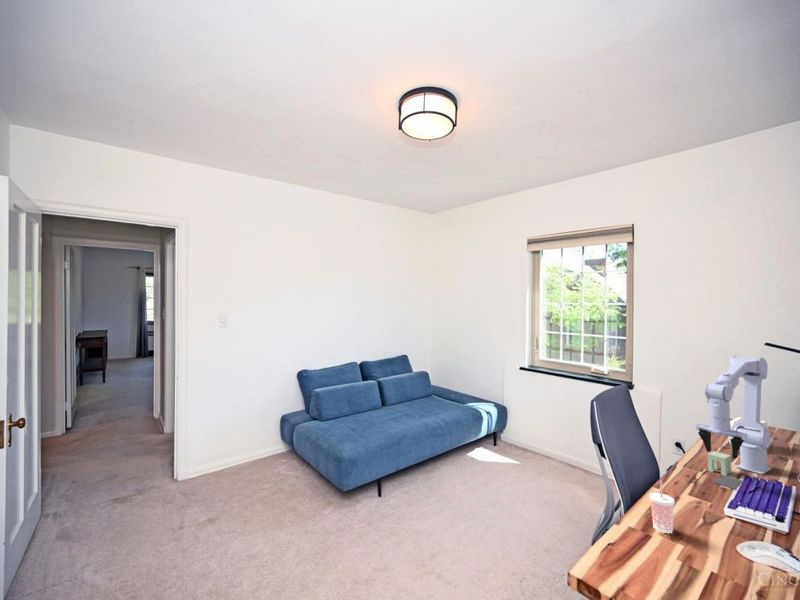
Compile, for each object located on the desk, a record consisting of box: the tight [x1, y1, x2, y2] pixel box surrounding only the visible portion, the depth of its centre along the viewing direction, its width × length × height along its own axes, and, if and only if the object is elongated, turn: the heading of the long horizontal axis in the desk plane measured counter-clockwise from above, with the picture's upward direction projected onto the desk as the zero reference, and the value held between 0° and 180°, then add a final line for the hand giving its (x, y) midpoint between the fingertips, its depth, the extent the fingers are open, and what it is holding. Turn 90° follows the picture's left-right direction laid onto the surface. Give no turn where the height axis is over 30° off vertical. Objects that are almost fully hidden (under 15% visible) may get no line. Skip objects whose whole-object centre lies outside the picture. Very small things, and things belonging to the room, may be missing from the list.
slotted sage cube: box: [707, 450, 733, 476], centre depth 147 cm, size 6×6×6 cm
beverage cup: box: [648, 479, 676, 535], centre depth 110 cm, size 6×6×14 cm
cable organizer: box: [728, 416, 769, 446], centre depth 173 cm, size 15×11×12 cm
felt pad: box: [712, 475, 745, 491], centre depth 136 cm, size 10×10×1 cm
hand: (721, 454), depth 138 cm, fingers open, 7 cm apart
